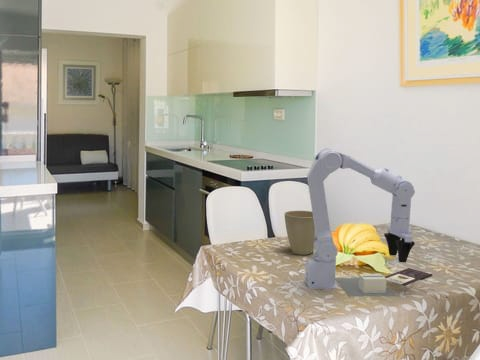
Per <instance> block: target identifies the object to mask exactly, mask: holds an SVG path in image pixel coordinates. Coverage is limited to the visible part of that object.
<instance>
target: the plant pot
mask: <svg viewBox="0 0 480 360" xmlns="http://www.w3.org/2000/svg"><path fill="white" fill-rule="evenodd" d="M283 214H284V221H285V230H286V234H287V239H288V243H289V246H290V249H291V252H292V253H293V254H295V255H298V256H299V255H301V256H307V255H310V254H312V251H313V249H314V247H313V243H314V240H315V226H314V220H313V213H312V210H311V211H310V210H289V211H285V212H284V213H283Z"/></svg>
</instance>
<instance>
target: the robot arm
mask: <svg viewBox="0 0 480 360" xmlns="http://www.w3.org/2000/svg"><path fill="white" fill-rule="evenodd" d="M338 169H341V170H345V169H351V170H353V171H355V172H357V173H359V174H361V175H363V176H365V177H367V178H370V182H371V184H372V185H374V186H375V187H378V188H379V189H382V190H383V191H385V192H388V193H391V194H392V198H391V199H392V201H391V211H390V223H389V224H390V225H387V229H386V230H387V232H388V233H384V234H383V235H384V238H385V240H386V243H387V249H388V254H389V256H393V257H394V256H398V257H397V259H398V262H399V263H407V260H408V258H409V255H410V251H411V250H412V248H413V247H414V246H415V241H413V235H411V234H413V231H412V230H411V229H410V219H411V205H412V204H411V203H412V198H413V197H414V195H415V188H414V185H413V184H412V183H411V182H410V181H408V180H405V179H404V178H402V176H401V175H395V174H394V173H392V172H389V171H390V169H388V168H387V167H379V168H376V169H375V168H372V167H371V166H369V165H367V164H366V163H365V162H364V163H363V162H362V161H360V160H358V159H356V158H355V157H353V156H350V155H348V154H346V153H342V152H338V151H336V150H333V149H330V148H324V149H321V150H320V151H319V152H318V153H317V154H316V155H315V156H314V159H313V162H312V163H311V167H310V169H309V171H308V173H307V185H308V191H309V193H308V194H309V199H310V205H311V211H312V213H313V220H314V226H315V240H314V243H313V249H314V251H315V252H314V254H313V257H312V258H307V259H306V260H305V268H304V269H305V271H304V282H305V284H306V285H307V287H308V289H310V290H319V289H320V290H326V289H327V290H330V289H331V290H332V289H335V290H336V289H339V288H340V286H339V285H337V283H336V281H335V278H336V269H337V268H336V265H337V258H336V257H337V255H338V247H337V246H336V244H335V242H334V239H333V234H332V232H331V226H330V220H329V212H328V207H327V206H328V205H327V198H326V192H325V186H324V185H325V184H324V182H325V180H326V179H327V178H328V177H329V176H330V175H331V174H332V173H334V172H336V171H338Z"/></svg>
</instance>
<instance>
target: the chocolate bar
mask: <svg viewBox="0 0 480 360" xmlns="http://www.w3.org/2000/svg"><path fill="white" fill-rule="evenodd" d="M384 277H385V278H386V279H387V280H386V281H388V282H392V283H395V284H397V285H401V286H407V285H410V284H412V283H415V282H417V281H422V280H426V279H427V278H430V277H433V274H432V273H429V272H425V271H420V270H417V269H414V268H410V267H408V268H405V269H402V270H400V271H397V272H395V273H391V274H388V275H385V276H384Z"/></svg>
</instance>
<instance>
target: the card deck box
mask: <svg viewBox="0 0 480 360" xmlns="http://www.w3.org/2000/svg"><path fill="white" fill-rule="evenodd" d="M358 275H359V276H358V278H359V289H360V290H361V291H362V292H363V293H386V286H387V281H388V280H387V279H386V278H385V276H384V275H383V274H381V273H359V274H358Z"/></svg>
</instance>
